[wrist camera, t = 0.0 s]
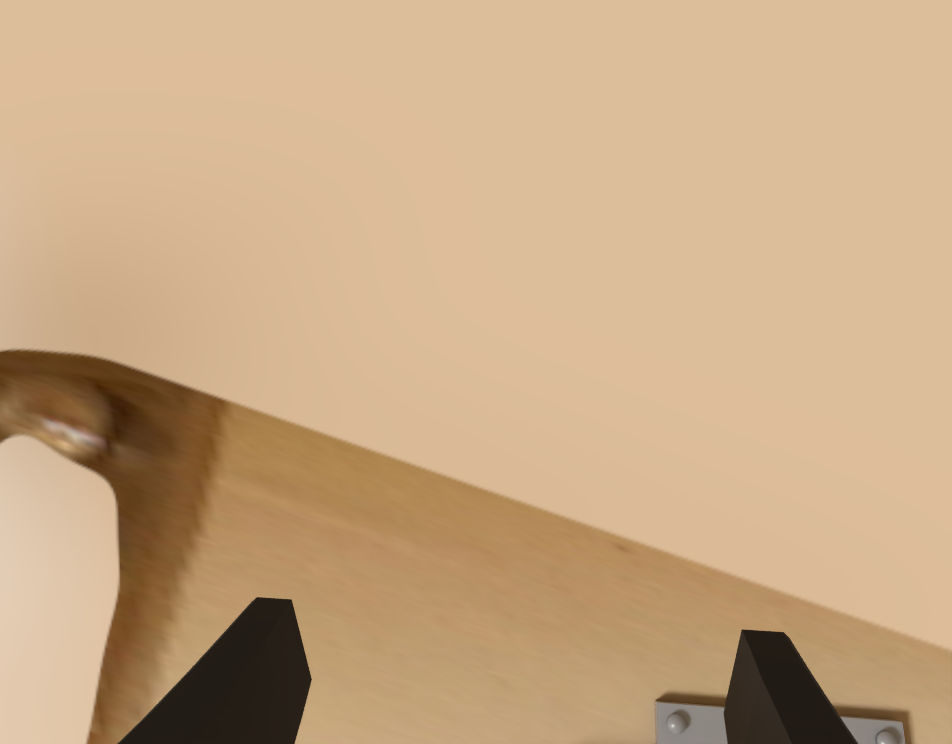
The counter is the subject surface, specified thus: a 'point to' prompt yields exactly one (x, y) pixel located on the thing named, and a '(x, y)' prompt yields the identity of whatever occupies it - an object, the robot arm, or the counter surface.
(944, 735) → the counter surface
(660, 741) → the baseplate
